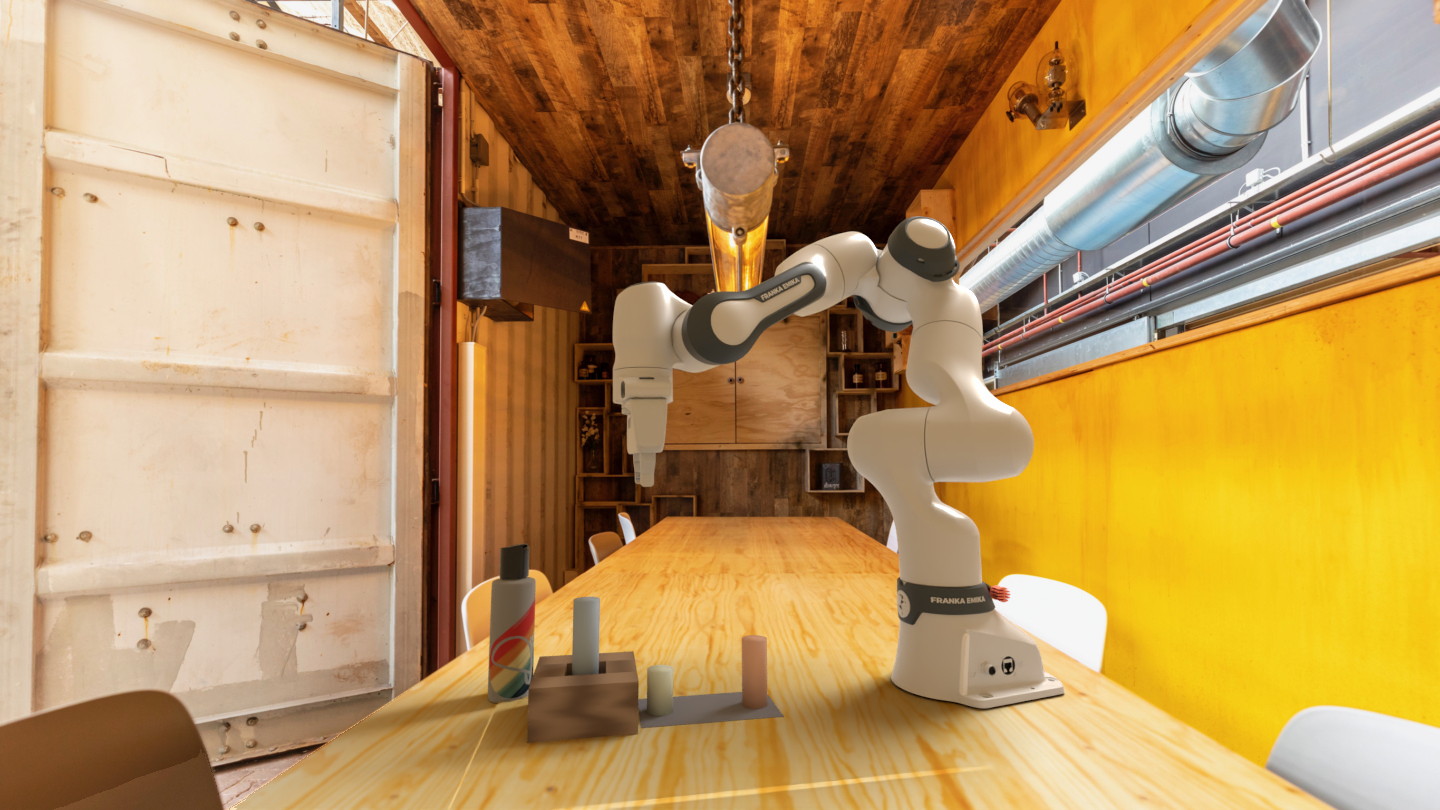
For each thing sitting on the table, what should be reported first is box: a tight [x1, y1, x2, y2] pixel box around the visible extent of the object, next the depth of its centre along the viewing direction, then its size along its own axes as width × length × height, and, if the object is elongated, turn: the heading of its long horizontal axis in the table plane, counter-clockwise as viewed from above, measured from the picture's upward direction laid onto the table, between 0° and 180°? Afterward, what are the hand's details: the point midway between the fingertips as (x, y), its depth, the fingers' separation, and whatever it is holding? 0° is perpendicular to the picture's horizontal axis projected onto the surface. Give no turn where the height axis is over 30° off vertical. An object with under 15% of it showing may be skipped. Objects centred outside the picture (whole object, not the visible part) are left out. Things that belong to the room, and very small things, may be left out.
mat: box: [638, 691, 785, 729], centre depth 76 cm, size 17×9×1 cm, turn 101°
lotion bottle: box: [487, 543, 537, 704], centre depth 83 cm, size 6×6×20 cm
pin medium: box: [741, 634, 768, 709], centre depth 78 cm, size 3×3×8 cm
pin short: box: [646, 664, 674, 716], centre depth 76 cm, size 3×3×5 cm
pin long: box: [571, 596, 601, 676], centre depth 75 cm, size 3×3×14 cm
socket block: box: [526, 650, 640, 744], centre depth 74 cm, size 12×12×6 cm
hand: (643, 485), depth 89 cm, fingers open, 8 cm apart
